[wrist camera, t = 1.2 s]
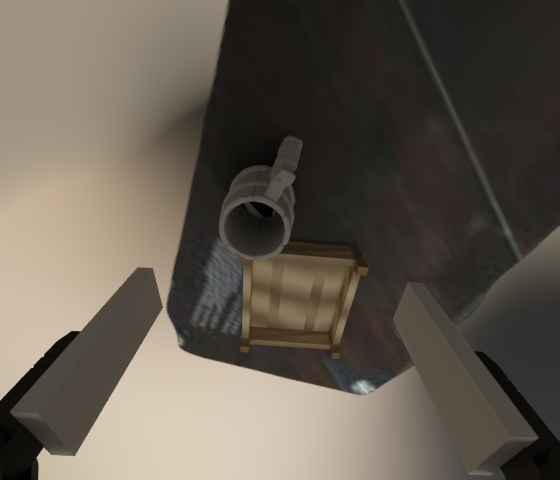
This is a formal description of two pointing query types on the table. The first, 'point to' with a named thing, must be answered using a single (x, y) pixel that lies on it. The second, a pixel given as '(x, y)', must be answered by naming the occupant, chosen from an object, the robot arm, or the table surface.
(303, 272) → the wooden tray
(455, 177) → the table surface
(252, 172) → the mug
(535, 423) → the robot arm
